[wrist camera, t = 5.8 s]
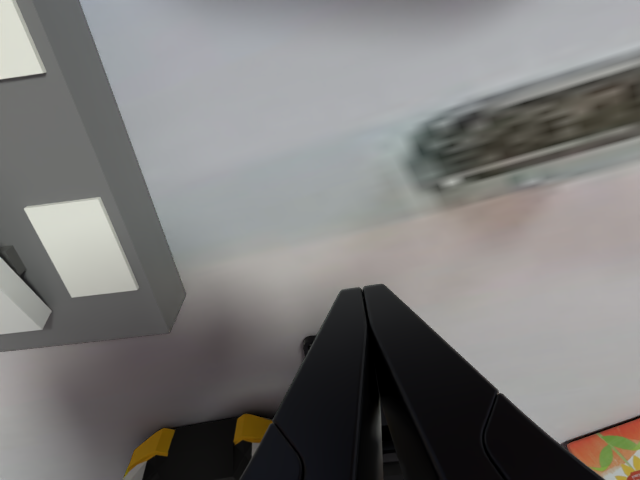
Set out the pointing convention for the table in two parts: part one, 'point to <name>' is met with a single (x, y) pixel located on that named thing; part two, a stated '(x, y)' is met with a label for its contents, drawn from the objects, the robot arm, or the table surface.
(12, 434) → the table surface
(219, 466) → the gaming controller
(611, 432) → the cracker box
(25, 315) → the grey rocker
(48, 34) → the rocker switch panel
